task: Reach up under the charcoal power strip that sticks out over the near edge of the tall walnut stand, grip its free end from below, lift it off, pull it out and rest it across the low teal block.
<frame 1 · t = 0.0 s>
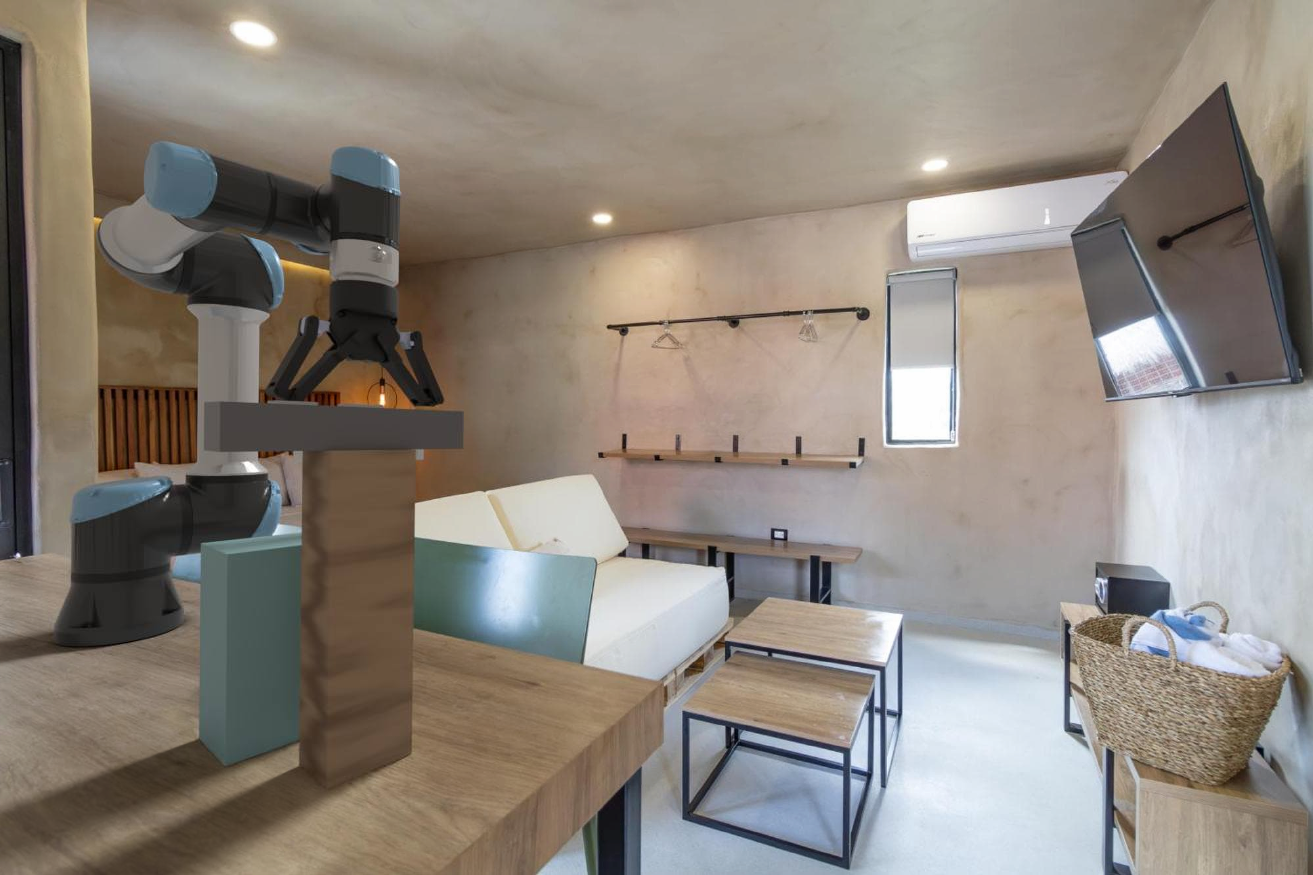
hand: (362, 461, 74), 28 cm above the table, tool pointing down, fingers open, 13 cm apart
power strip: (349, 449, 58), point 30 cm above the table, touching walnut stand
walnut stand: (356, 759, 59), on the table
teal block: (271, 731, 64), on the table
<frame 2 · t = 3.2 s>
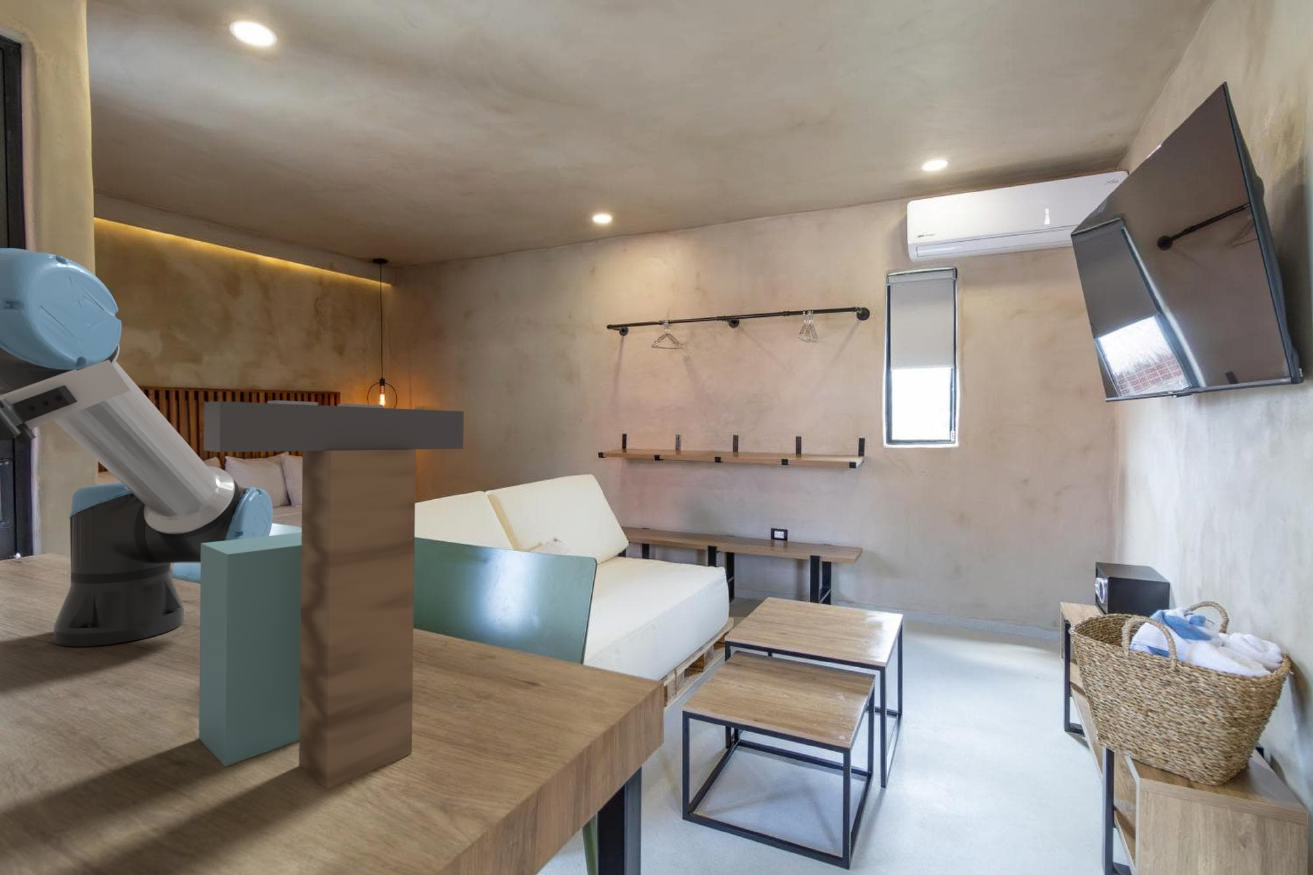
hand: (101, 378, 53), 36 cm above the table, tool pointing upward, fingers open, 13 cm apart
nothing on the table moved.
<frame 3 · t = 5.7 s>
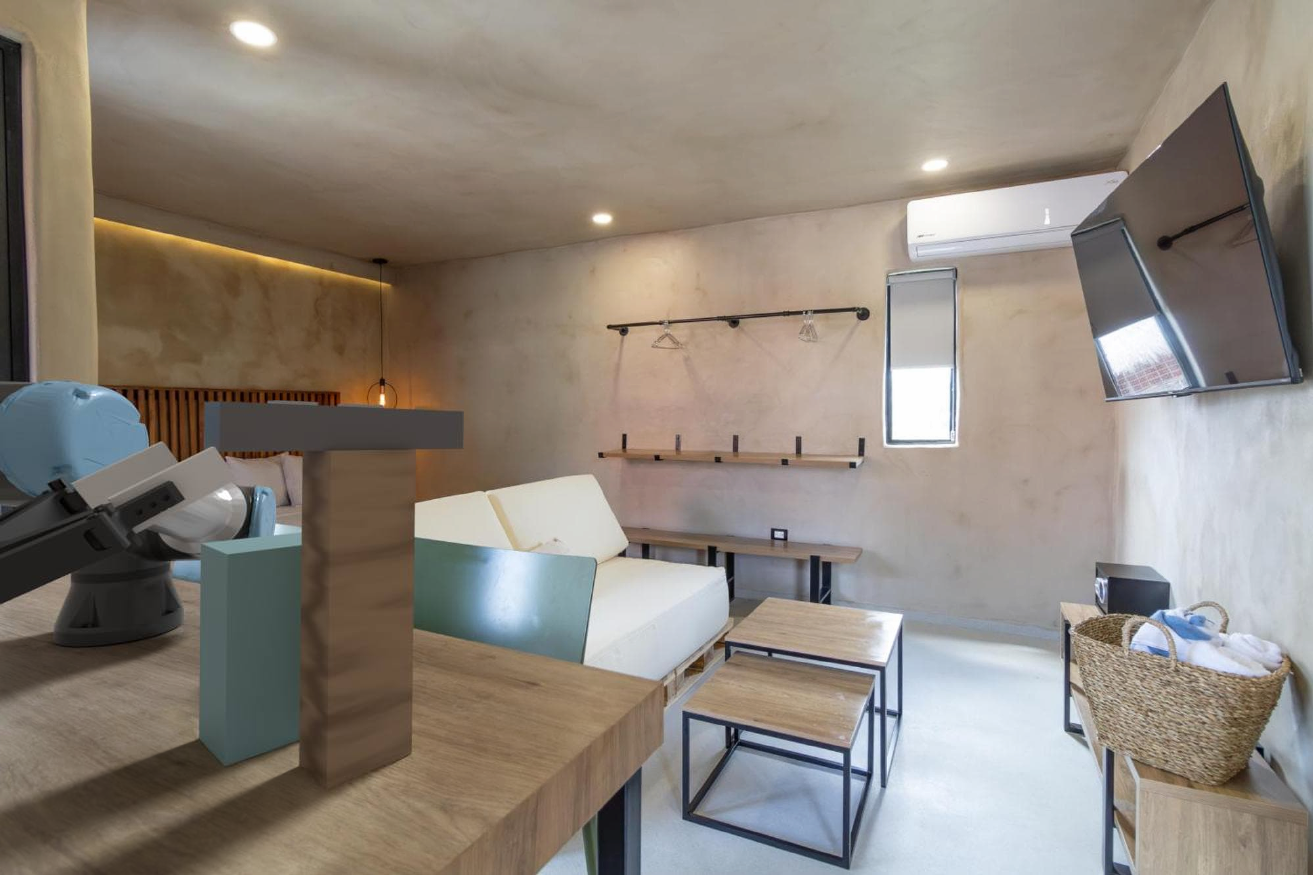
hand: (196, 458, 48), 29 cm above the table, tool pointing upward, fingers open, 13 cm apart
nothing on the table moved.
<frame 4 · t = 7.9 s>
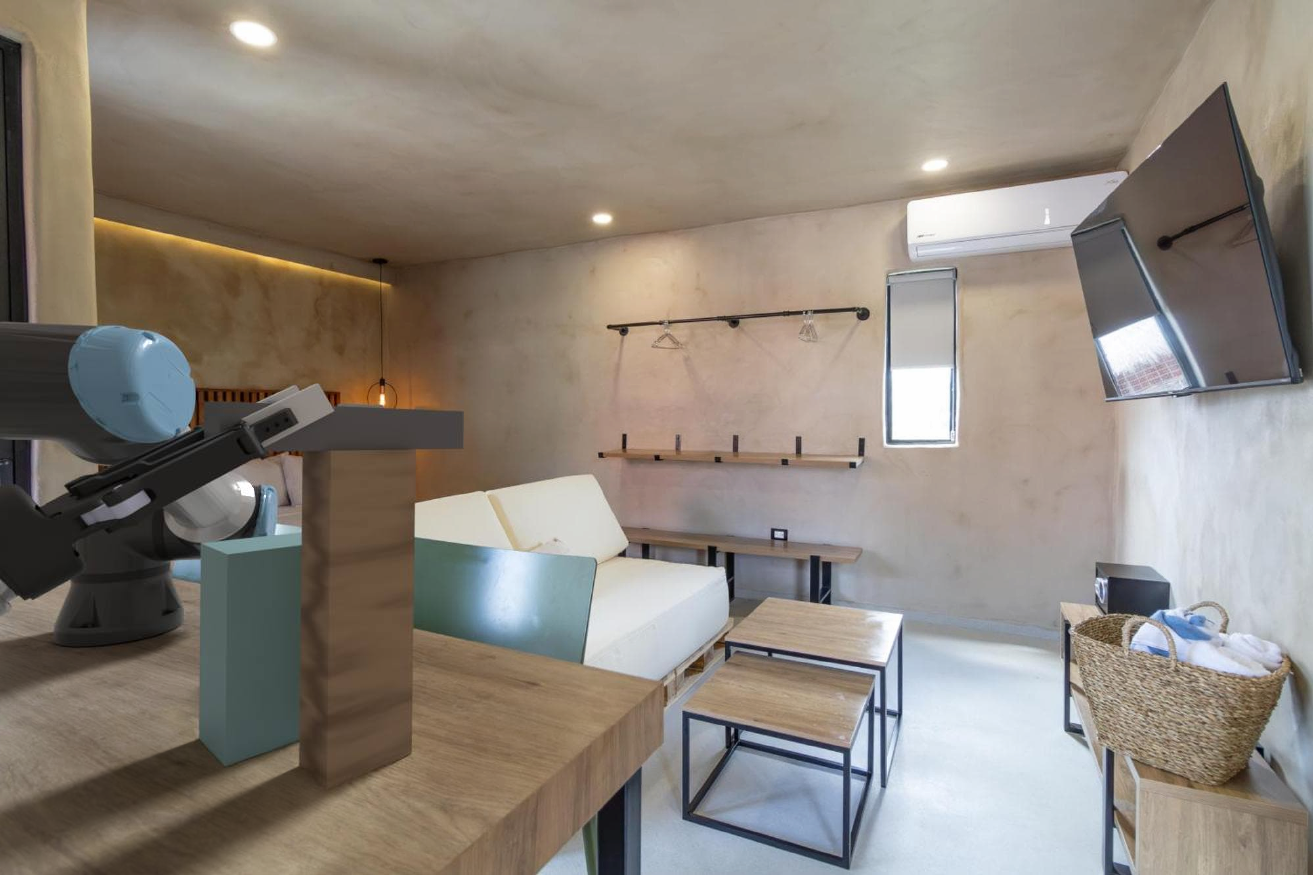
hand: (312, 398, 55), 35 cm above the table, tool pointing upward, fingers closed on power strip, 4 cm apart
power strip: (349, 449, 58), point 30 cm above the table, touching gripper, walnut stand
everything else where it was.
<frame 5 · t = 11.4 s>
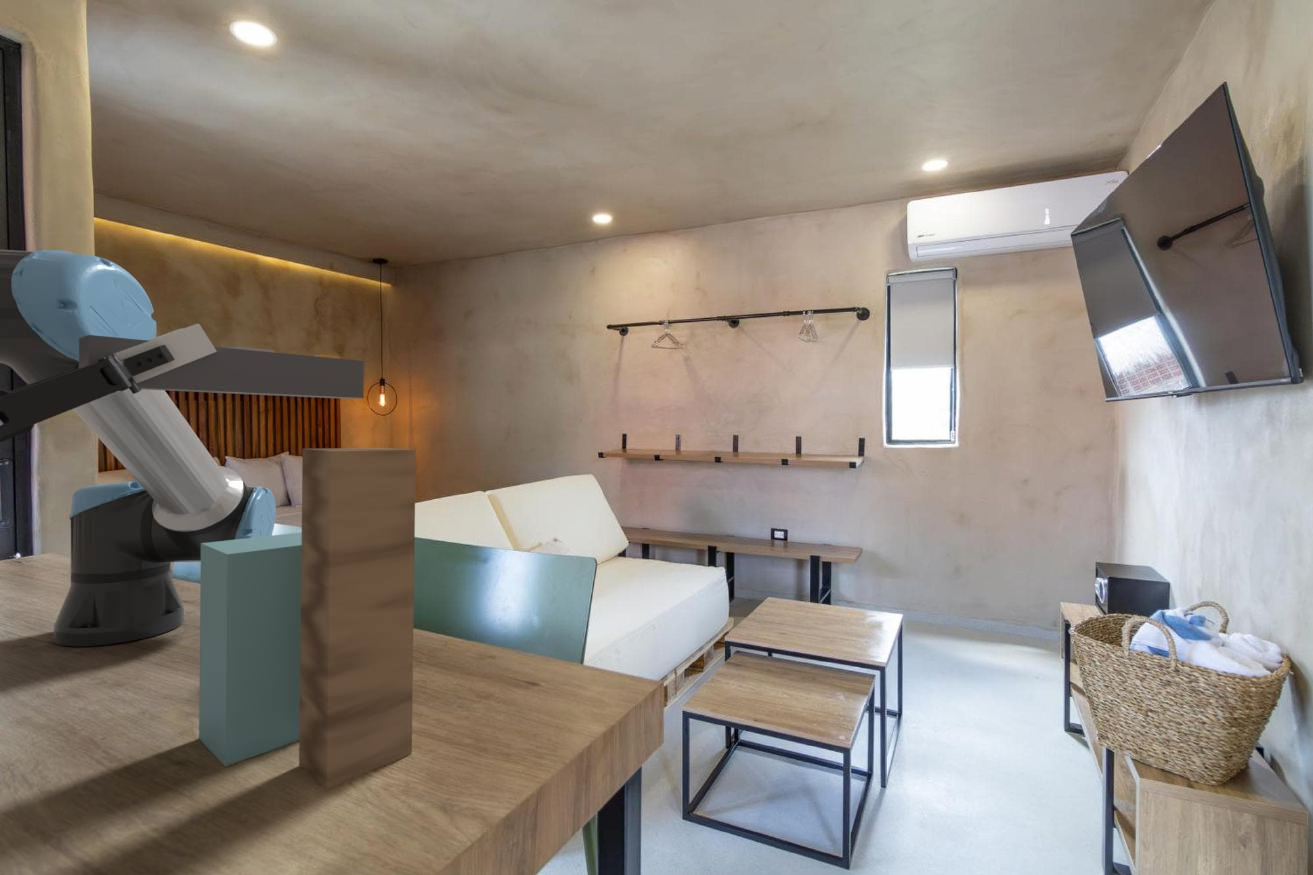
hand: (197, 340, 56), 40 cm above the table, tool pointing upward, fingers closed on power strip, 4 cm apart
power strip: (239, 393, 59), point 35 cm above the table, touching gripper
everything else where it was.
when the fingers open (26 cm above the table, at t = 14.7 s): power strip drops 1 cm, resting on teal block.
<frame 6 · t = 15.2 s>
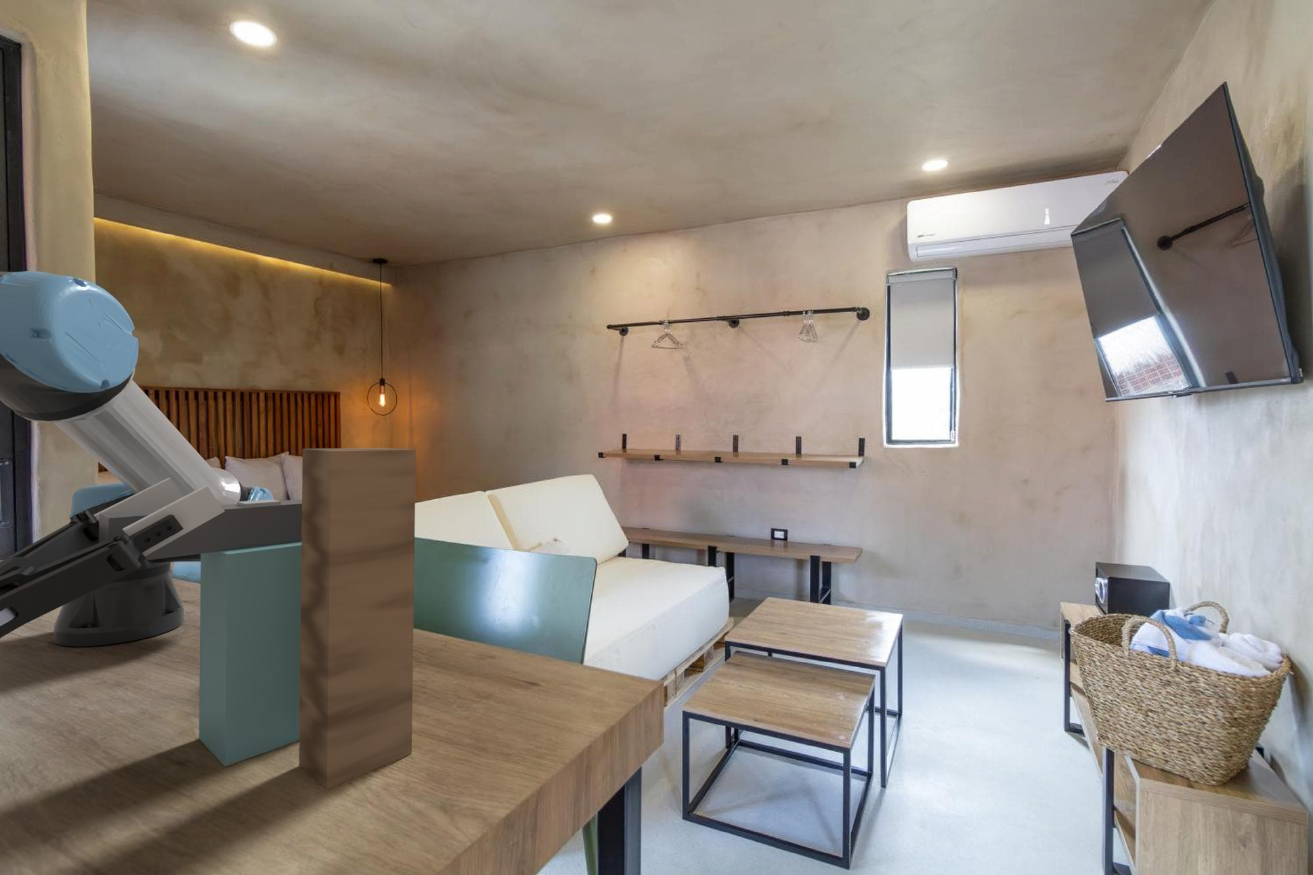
hand: (195, 493, 59), 26 cm above the table, tool pointing upward, fingers open, 11 cm apart
power strip: (247, 544, 62), point 20 cm above the table, touching teal block
everything else where it was.
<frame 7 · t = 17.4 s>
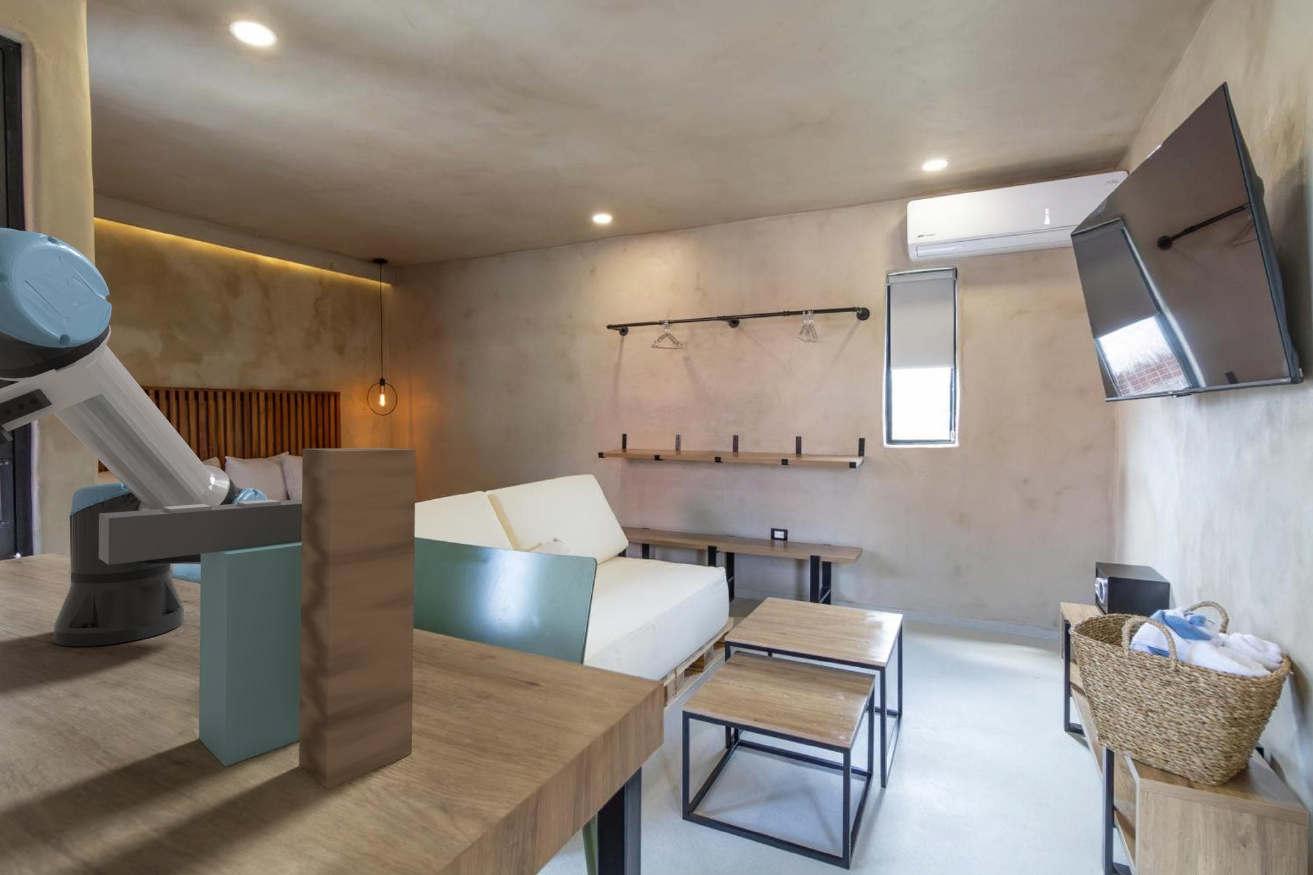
hand: (77, 379, 55), 36 cm above the table, tool pointing upward, fingers open, 13 cm apart
nothing on the table moved.
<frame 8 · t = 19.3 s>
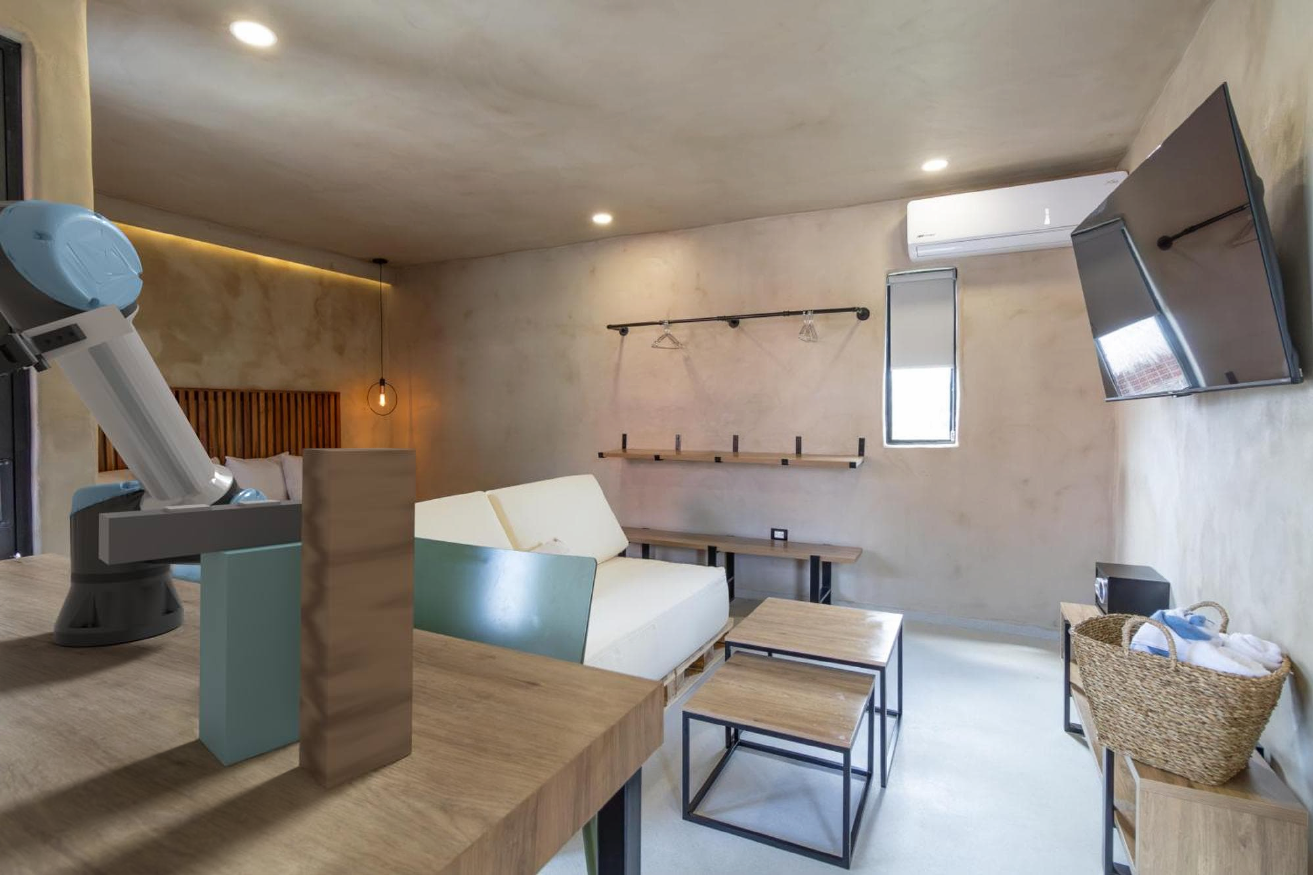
hand: (107, 324, 60), 42 cm above the table, tool pointing upward, fingers open, 13 cm apart
nothing on the table moved.
at the end: power strip inside the target area on the teal block (0.2 cm from its centre), point 20.0 cm above the teal block's base; the gripper is holding nothing; power strip moved 16.3 cm from its start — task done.
